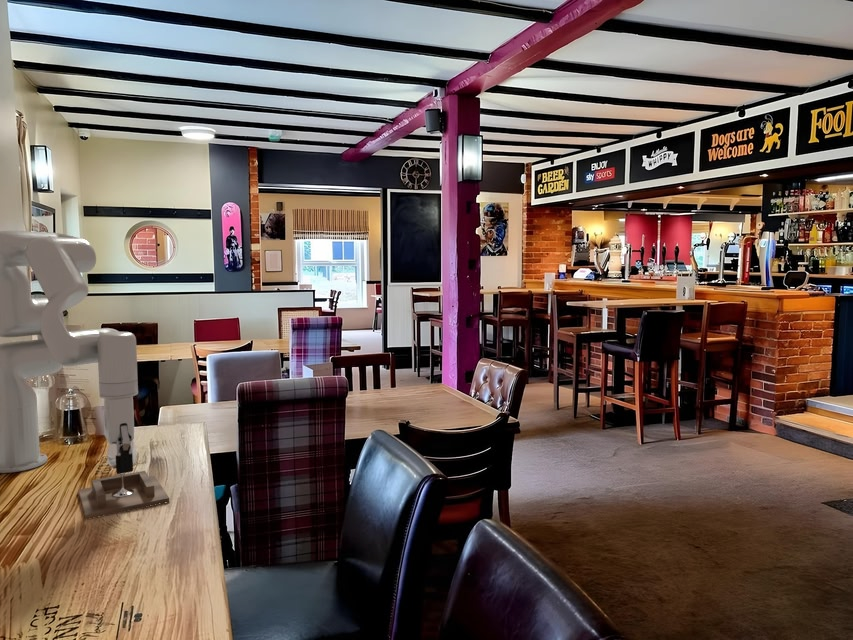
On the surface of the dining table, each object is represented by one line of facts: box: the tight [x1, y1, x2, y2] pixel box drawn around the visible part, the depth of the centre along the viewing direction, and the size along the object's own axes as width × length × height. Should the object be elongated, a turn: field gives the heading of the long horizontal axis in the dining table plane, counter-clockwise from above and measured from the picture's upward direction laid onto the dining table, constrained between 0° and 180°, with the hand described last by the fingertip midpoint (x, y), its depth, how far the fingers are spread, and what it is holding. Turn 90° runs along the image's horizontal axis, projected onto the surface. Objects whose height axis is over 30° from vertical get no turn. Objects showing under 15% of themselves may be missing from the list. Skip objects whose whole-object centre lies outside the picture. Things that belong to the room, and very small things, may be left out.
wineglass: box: [106, 439, 137, 497], centre depth 132 cm, size 6×6×12 cm
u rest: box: [78, 470, 170, 520], centre depth 133 cm, size 16×16×4 cm
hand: (121, 466), depth 132 cm, fingers open, 7 cm apart
